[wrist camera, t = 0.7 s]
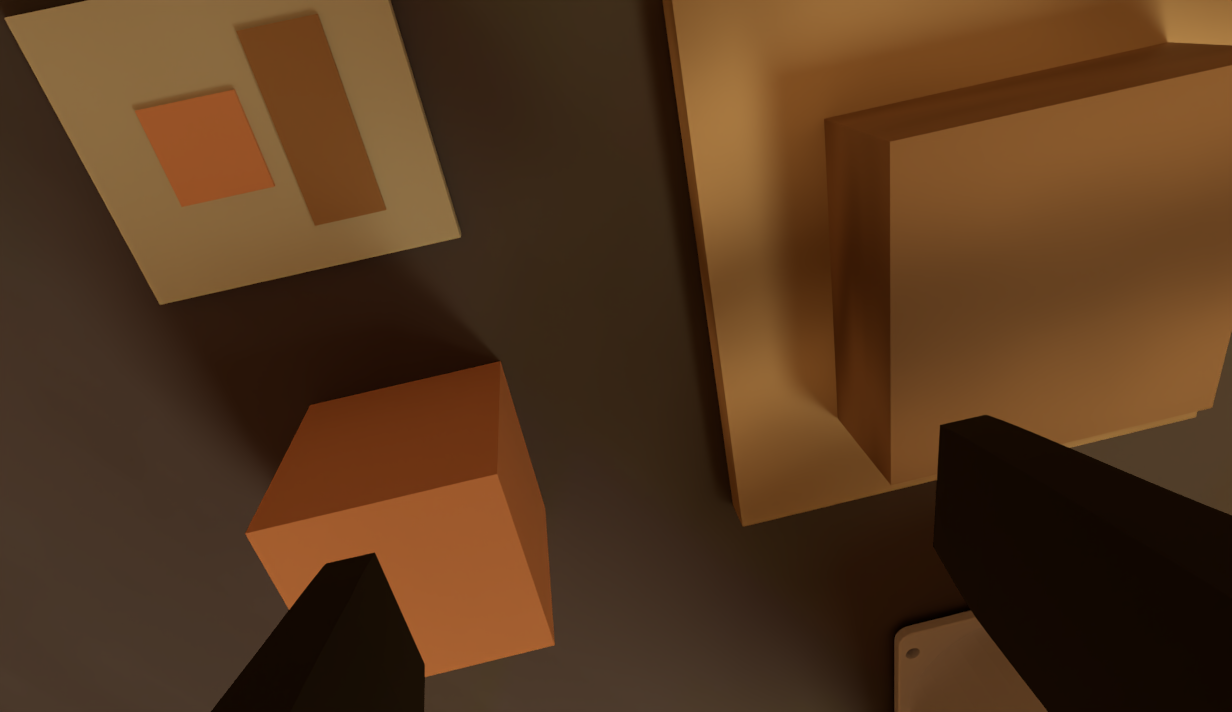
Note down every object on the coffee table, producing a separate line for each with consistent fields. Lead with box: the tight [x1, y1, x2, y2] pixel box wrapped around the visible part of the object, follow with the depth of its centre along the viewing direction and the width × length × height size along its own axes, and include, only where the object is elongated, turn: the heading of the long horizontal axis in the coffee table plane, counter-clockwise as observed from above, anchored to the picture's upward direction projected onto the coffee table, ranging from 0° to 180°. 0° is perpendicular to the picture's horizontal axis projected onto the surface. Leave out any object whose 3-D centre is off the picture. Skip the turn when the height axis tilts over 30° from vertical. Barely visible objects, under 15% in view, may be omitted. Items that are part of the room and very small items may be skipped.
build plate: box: [662, 0, 1232, 527], centre depth 18 cm, size 14×14×1 cm
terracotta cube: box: [245, 361, 555, 677], centre depth 17 cm, size 5×5×5 cm
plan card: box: [4, 0, 461, 305], centre depth 15 cm, size 6×7×1 cm
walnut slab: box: [824, 42, 1232, 485], centre depth 16 cm, size 8×8×3 cm
